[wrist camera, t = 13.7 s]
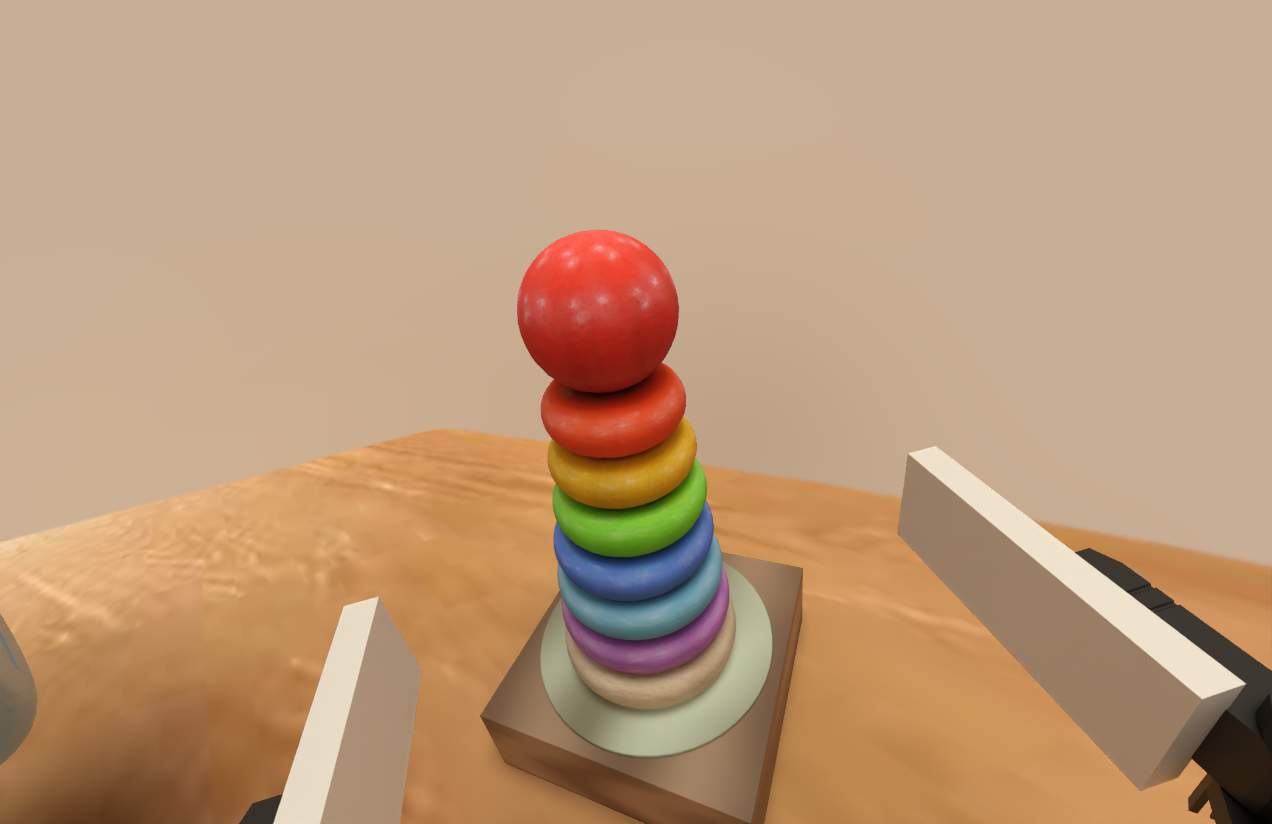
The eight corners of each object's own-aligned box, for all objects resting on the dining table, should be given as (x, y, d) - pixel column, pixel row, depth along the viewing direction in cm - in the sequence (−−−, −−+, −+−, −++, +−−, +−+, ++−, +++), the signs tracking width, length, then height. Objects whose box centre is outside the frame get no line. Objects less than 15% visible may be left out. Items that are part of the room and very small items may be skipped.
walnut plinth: (504, 762, 26) (478, 711, 23) (610, 573, 35) (598, 524, 33) (755, 870, 21) (750, 819, 19) (802, 618, 30) (802, 564, 28)
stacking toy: (571, 736, 22) (402, 300, 12) (569, 585, 29) (460, 229, 19) (759, 698, 22) (737, 240, 13) (713, 557, 29) (676, 191, 19)
